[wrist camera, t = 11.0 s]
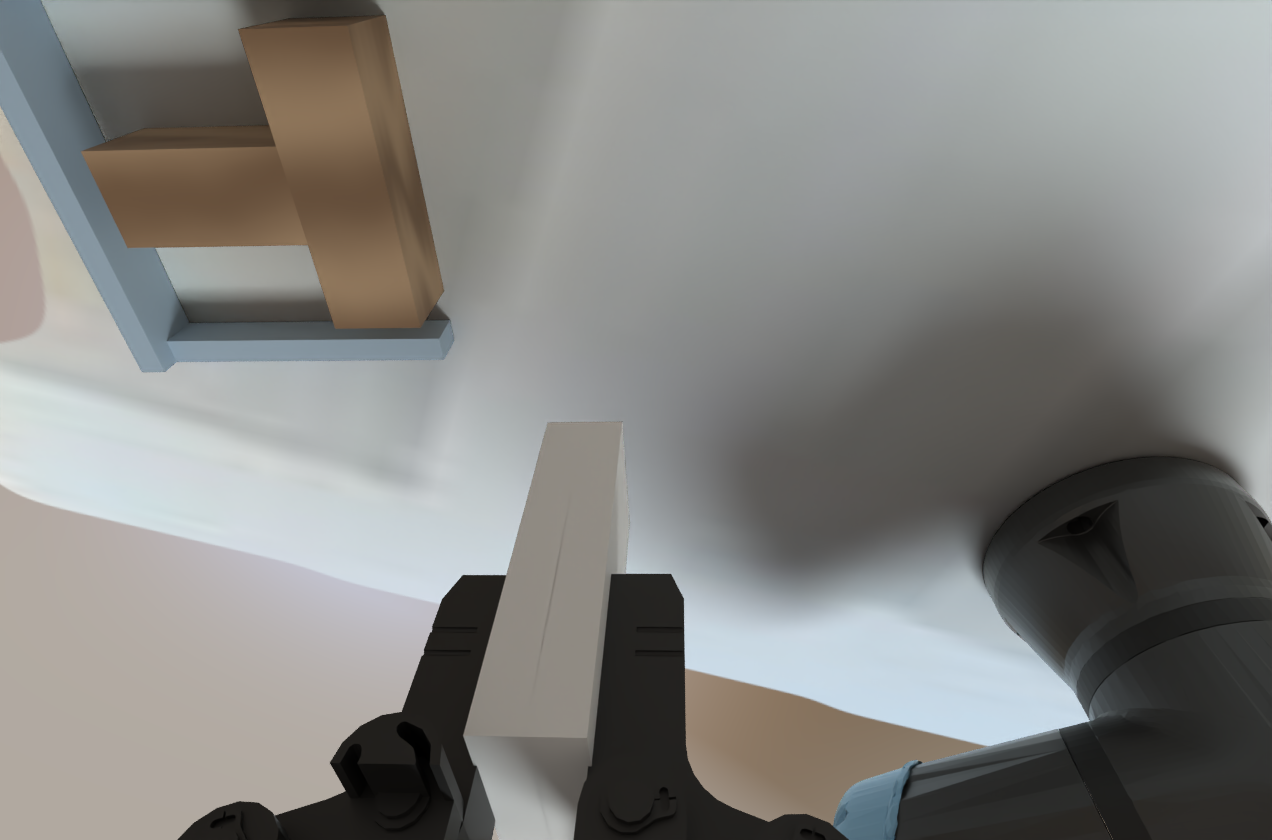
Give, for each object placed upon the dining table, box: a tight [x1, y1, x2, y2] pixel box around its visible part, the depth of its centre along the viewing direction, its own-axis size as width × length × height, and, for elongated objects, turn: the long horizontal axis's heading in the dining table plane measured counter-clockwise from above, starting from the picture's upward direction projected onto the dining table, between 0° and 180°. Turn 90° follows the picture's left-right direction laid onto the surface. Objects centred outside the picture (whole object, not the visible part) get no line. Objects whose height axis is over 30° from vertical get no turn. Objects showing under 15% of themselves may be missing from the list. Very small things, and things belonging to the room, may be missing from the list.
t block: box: [81, 15, 444, 329], centre depth 29 cm, size 12×12×4 cm
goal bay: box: [0, 0, 454, 372], centre depth 30 cm, size 17×15×3 cm
